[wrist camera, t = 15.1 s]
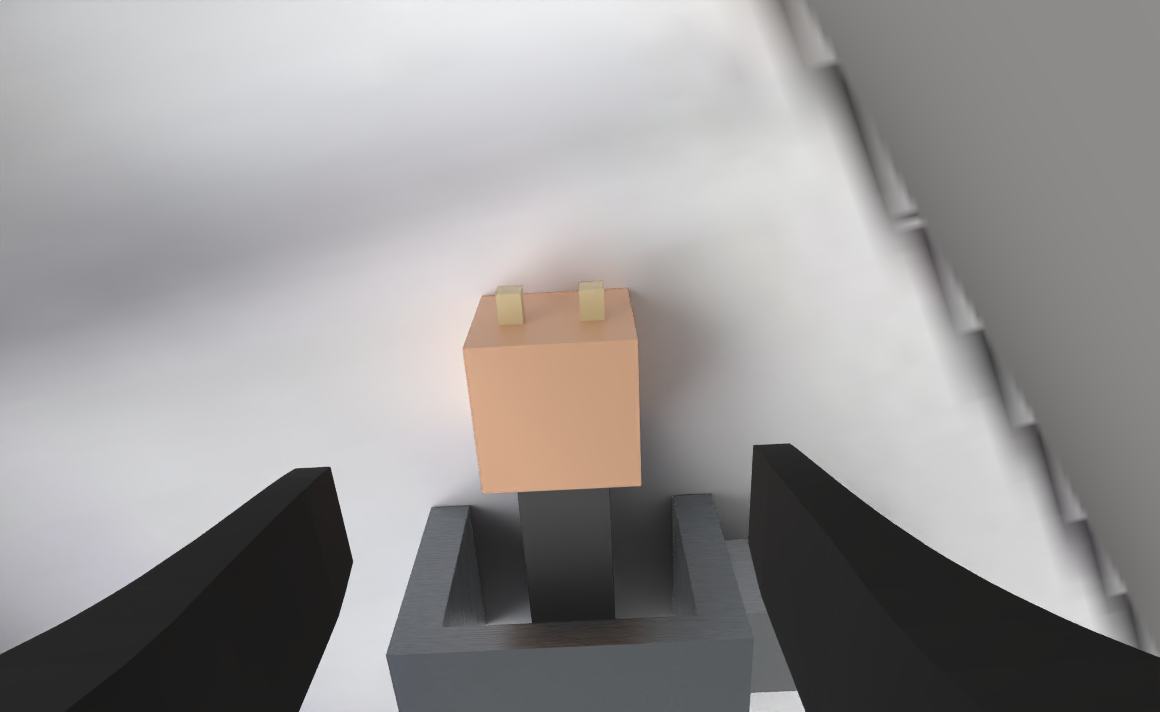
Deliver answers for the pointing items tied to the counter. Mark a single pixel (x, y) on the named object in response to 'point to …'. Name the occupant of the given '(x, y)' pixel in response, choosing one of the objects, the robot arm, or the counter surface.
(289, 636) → the robot arm
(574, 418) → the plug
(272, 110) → the counter surface
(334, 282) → the counter surface
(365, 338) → the counter surface
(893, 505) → the counter surface
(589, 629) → the housing
